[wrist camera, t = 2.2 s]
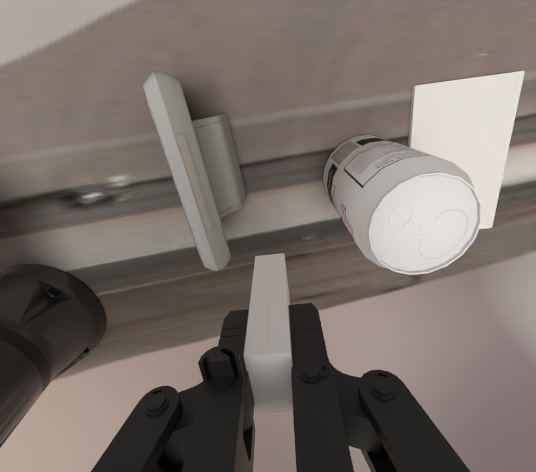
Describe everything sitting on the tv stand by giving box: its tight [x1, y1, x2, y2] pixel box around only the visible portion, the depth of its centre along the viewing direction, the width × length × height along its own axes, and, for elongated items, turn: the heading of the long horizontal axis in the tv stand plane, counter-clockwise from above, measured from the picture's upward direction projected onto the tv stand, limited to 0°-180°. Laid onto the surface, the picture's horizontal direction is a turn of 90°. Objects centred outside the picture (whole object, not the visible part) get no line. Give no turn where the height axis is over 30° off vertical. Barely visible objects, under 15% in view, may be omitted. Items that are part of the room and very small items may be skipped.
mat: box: [408, 71, 525, 229], centre depth 31 cm, size 10×16×1 cm, turn 7°
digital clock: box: [143, 72, 246, 271], centre depth 27 cm, size 16×9×11 cm, turn 0°
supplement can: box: [323, 135, 482, 275], centre depth 25 cm, size 8×8×15 cm
